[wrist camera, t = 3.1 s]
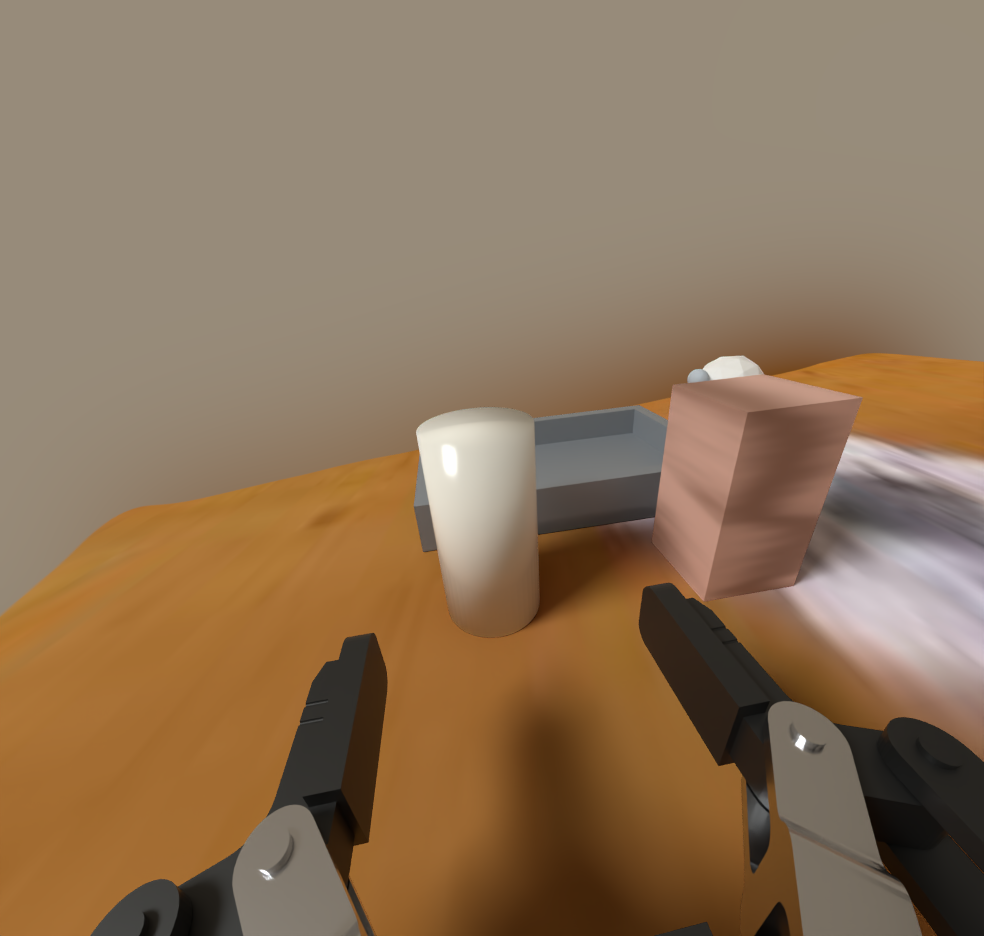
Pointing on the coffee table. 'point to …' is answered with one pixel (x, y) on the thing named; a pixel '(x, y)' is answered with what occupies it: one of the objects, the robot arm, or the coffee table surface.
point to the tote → (585, 470)
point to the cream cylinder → (484, 515)
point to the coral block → (746, 479)
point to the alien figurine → (725, 369)
